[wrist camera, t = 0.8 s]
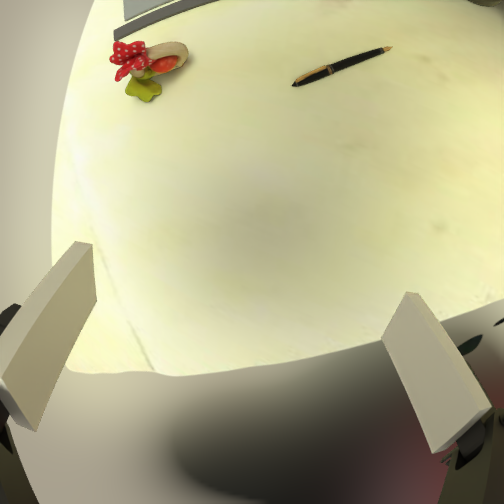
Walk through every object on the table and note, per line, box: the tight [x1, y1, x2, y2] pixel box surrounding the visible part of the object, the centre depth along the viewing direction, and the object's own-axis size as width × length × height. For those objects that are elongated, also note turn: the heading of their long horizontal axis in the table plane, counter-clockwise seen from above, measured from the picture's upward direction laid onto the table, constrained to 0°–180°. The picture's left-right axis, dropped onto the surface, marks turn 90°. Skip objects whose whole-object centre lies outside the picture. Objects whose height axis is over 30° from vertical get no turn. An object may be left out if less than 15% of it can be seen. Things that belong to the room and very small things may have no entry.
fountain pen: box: [292, 47, 392, 86], centre depth 30 cm, size 14×1×2 cm, turn 117°
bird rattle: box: [109, 41, 188, 102], centre depth 29 cm, size 6×11×9 cm
